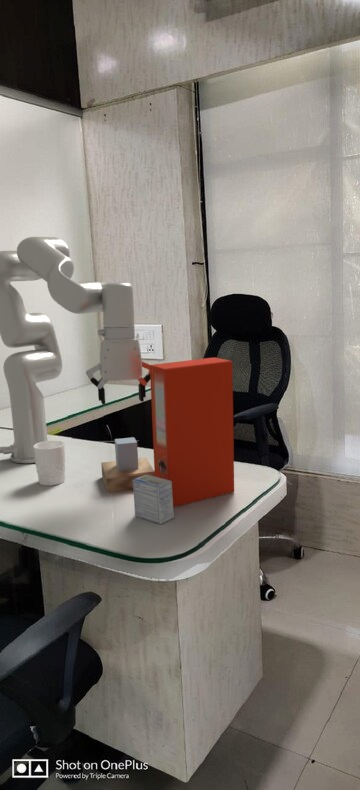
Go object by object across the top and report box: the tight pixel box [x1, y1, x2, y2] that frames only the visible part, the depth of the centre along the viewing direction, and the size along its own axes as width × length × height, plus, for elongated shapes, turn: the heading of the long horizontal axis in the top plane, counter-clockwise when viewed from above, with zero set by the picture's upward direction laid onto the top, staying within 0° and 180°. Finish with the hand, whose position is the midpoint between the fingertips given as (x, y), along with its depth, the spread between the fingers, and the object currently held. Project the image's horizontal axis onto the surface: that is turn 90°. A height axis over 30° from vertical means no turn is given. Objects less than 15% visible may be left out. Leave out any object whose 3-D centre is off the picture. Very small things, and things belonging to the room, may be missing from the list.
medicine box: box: [132, 475, 175, 525], centre depth 133 cm, size 8×4×9 cm, turn 48°
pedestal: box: [100, 457, 155, 493], centre depth 157 cm, size 12×12×4 cm
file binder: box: [149, 357, 235, 508], centre depth 143 cm, size 8×17×32 cm, turn 119°
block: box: [114, 436, 139, 471], centre depth 155 cm, size 5×5×7 cm
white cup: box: [33, 440, 66, 487], centre depth 159 cm, size 8×8×10 cm
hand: (122, 401), depth 153 cm, fingers open, 9 cm apart
